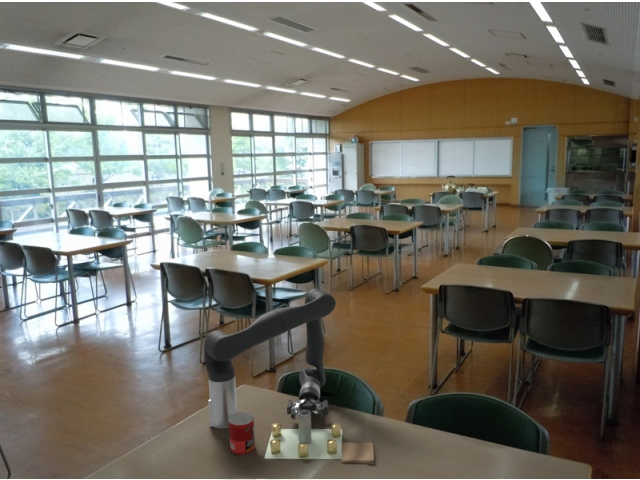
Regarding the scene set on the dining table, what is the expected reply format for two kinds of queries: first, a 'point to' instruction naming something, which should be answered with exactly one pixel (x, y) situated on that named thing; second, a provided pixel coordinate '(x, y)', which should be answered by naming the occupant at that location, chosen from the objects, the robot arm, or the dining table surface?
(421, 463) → the dining table surface
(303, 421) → the grey hexagonal metal post
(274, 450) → the spacers
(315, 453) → the parts mat
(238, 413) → the canned food
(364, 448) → the tray
